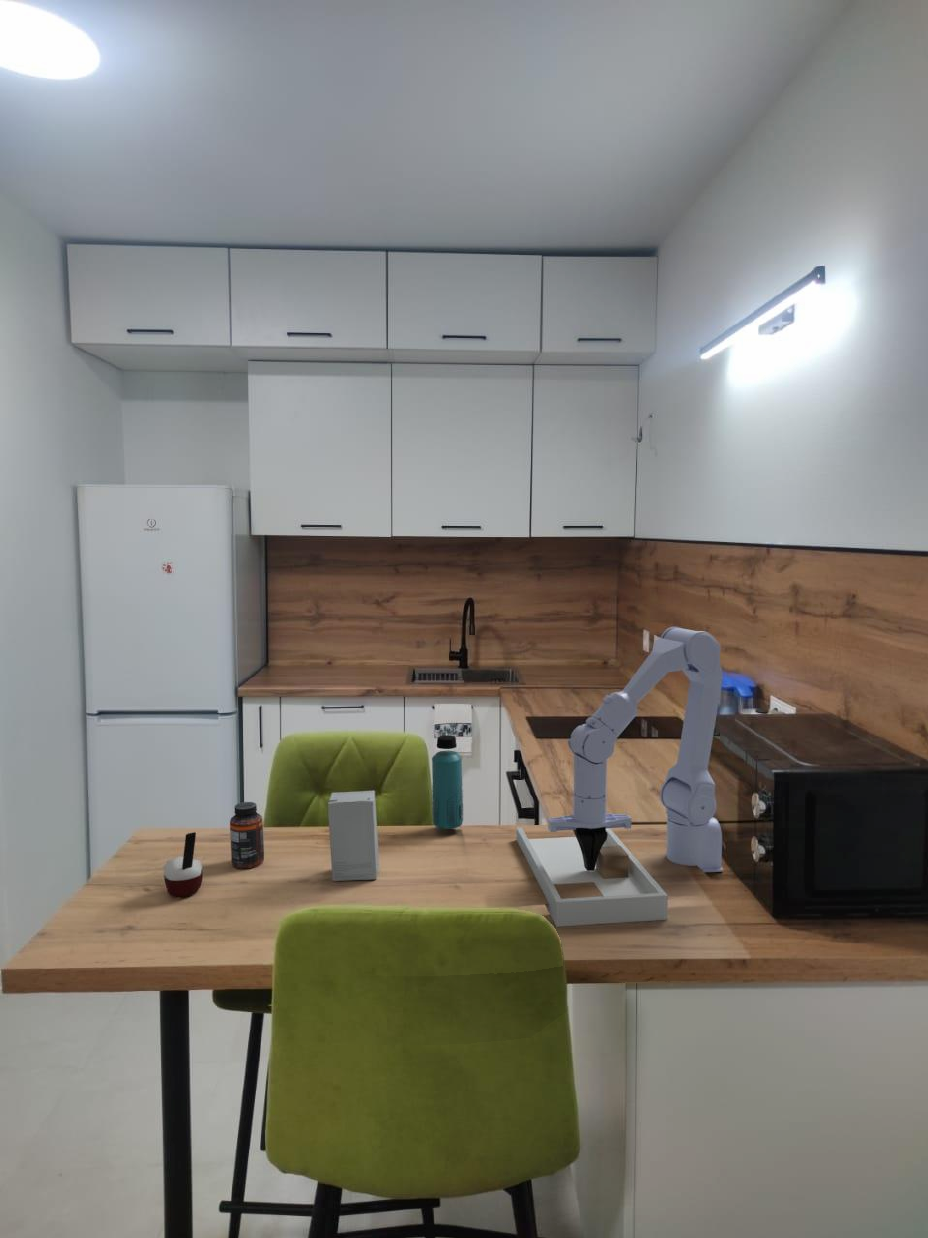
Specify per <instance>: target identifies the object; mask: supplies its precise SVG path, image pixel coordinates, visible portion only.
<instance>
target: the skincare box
mask: <svg viewBox="0 0 928 1238" xmlns="http://www.w3.org/2000/svg"><path fill="white" fill-rule="evenodd" d="M327 813H328V817H327V818H328V833H329V846H330V847H329V848H330V862H331V877H332V882H342V881H344V882H345V881H367V880H370V881H371V880H372V881H373V880H377V878H378V873H379V868H380V859H379V842H378V841H379V839H378V826H377V825H378V824H377V804H376V791H375V790H363V791H348V792H347V791H346V792H332V793H331V794H330V797H329V800H328V802H327Z"/></svg>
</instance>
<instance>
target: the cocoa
mask: <svg viewBox="0 0 928 1238" xmlns="http://www.w3.org/2000/svg"><path fill="white" fill-rule="evenodd" d="M196 835H197V833H196V832H195V831H194V832H189V833H187V834H185V839H184V847H183V848H184V849H183V854H182V855H183V856H177V857H175V858H171V859H170V860H167V861H166V862H165V864H164V865H163V873H164V874H163V875H164V876H163V877H164V883H165V887H166V891H167V893H168V894H169V895H170V896H171V897H173V898H179V899H185V898H189V897H191V896H193V895H195V894H196V893H198V891H199V890H200V888H201V887H202V883H203V877H204V875H203V874H204V871H203V866H202V863H201V861H200V860H198V859H195V858H194V856H195V855H194V854H195V846H196V845H195V844H196V838H197V837H196Z"/></svg>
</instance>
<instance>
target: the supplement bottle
mask: <svg viewBox="0 0 928 1238" xmlns="http://www.w3.org/2000/svg"><path fill="white" fill-rule="evenodd" d="M257 811H258V808H257V803H256V802H253V801H243V802H238V803H237V804H235V805H234V812H233V813H234V815H233V816H232V817H231V818H230V821H229V829H230V830H229V831H230V832H229V834H230V853H231V856H230V857H231V865H232V866H233V867H234V868H236V869H252V868H256V867H258V866H260V865H261V864H263V863H264V860H265V849H264V848H265V847H264V844H265V843H264V826H263V825H264V824H263V816H262V815H261V814H260V813H259V812H257Z"/></svg>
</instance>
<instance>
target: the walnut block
mask: <svg viewBox="0 0 928 1238" xmlns="http://www.w3.org/2000/svg"><path fill="white" fill-rule="evenodd" d="M628 868H629V855H628V854H627V853H626V852H625V850H624V849H623V848H622V847H621V846H604V847H602V848H601V850H600V852H599V855H598V858H597V861H596V869H597V871H598V872H599V874H600V875H601V876H602V878H603V879H611V878H628Z"/></svg>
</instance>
